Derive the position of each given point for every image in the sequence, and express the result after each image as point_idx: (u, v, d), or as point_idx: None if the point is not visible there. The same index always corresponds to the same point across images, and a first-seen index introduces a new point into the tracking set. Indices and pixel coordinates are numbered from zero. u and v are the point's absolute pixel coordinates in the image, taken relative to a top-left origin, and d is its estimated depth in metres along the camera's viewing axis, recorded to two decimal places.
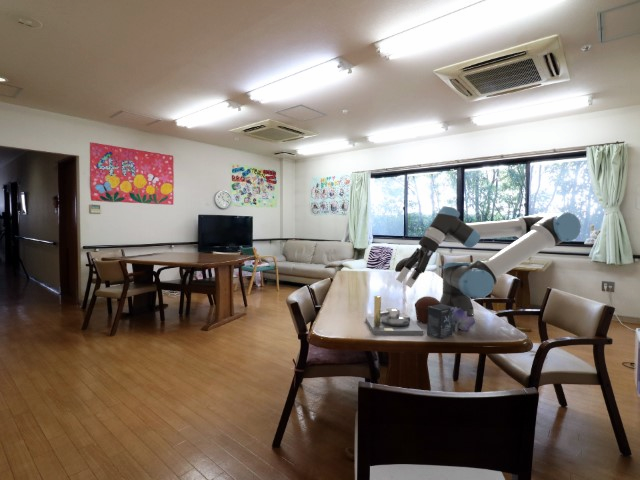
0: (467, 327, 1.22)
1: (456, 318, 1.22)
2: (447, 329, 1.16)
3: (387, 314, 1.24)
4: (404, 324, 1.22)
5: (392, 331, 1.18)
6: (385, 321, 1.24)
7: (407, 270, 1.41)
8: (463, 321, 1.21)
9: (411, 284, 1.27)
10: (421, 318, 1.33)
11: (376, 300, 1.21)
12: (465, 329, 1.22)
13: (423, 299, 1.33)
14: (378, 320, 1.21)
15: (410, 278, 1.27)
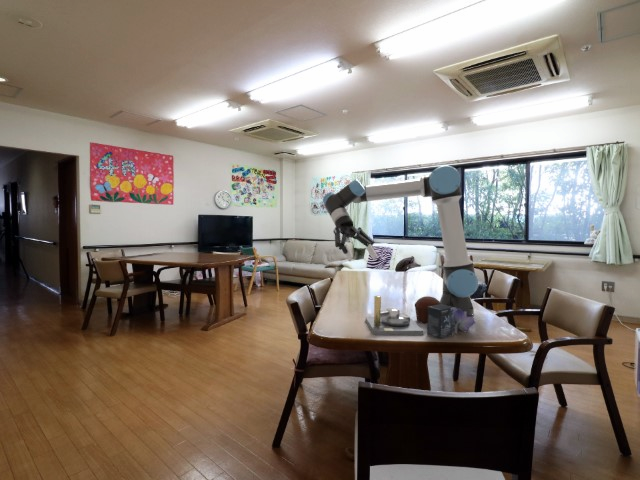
0: (466, 327, 1.21)
1: (456, 318, 1.21)
2: (447, 329, 1.16)
3: (387, 314, 1.24)
4: (404, 324, 1.22)
5: (392, 331, 1.18)
6: (385, 321, 1.24)
7: (369, 246, 1.39)
8: (463, 321, 1.21)
9: (350, 255, 1.29)
10: (421, 318, 1.33)
11: (376, 300, 1.21)
12: (465, 329, 1.22)
13: (423, 299, 1.33)
14: (378, 320, 1.21)
15: (346, 254, 1.31)
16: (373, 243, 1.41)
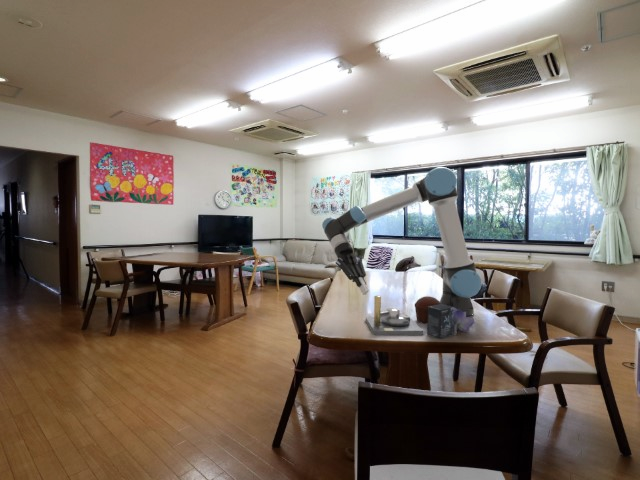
0: (466, 328, 1.21)
1: (455, 319, 1.21)
2: (447, 329, 1.16)
3: (387, 314, 1.24)
4: (404, 324, 1.22)
5: (392, 331, 1.18)
6: (385, 321, 1.24)
7: None
8: (462, 322, 1.20)
9: (364, 289, 1.28)
10: (421, 318, 1.33)
11: (376, 300, 1.21)
12: (464, 330, 1.21)
13: (423, 299, 1.33)
14: (378, 320, 1.21)
15: (360, 287, 1.30)
16: None
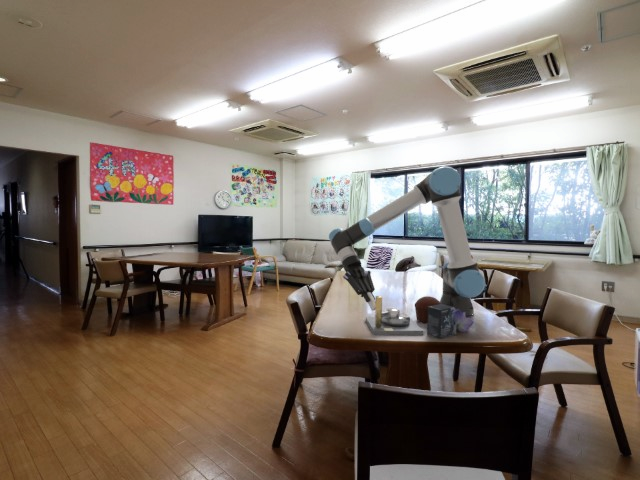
0: (465, 328, 1.20)
1: (454, 319, 1.20)
2: (447, 329, 1.16)
3: (388, 314, 1.24)
4: (405, 324, 1.23)
5: (392, 331, 1.18)
6: (386, 321, 1.24)
7: None
8: (462, 322, 1.19)
9: (373, 304, 1.24)
10: (421, 318, 1.33)
11: (377, 300, 1.20)
12: (464, 330, 1.20)
13: (423, 299, 1.33)
14: (379, 320, 1.21)
15: (369, 303, 1.26)
16: (373, 290, 1.29)
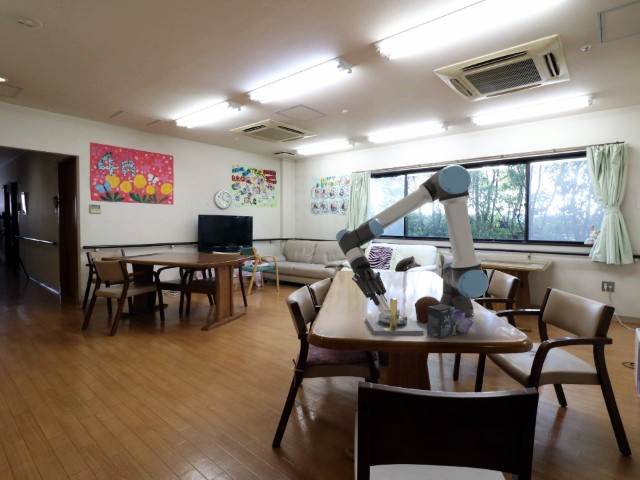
0: (465, 329, 1.20)
1: (454, 320, 1.20)
2: (447, 329, 1.16)
3: None
4: None
5: (392, 331, 1.18)
6: None
7: (380, 297, 1.23)
8: (461, 323, 1.19)
9: (382, 308, 1.19)
10: (421, 318, 1.33)
11: (395, 303, 1.17)
12: (463, 331, 1.20)
13: (423, 299, 1.33)
14: (396, 323, 1.18)
15: (378, 306, 1.21)
16: (385, 292, 1.25)
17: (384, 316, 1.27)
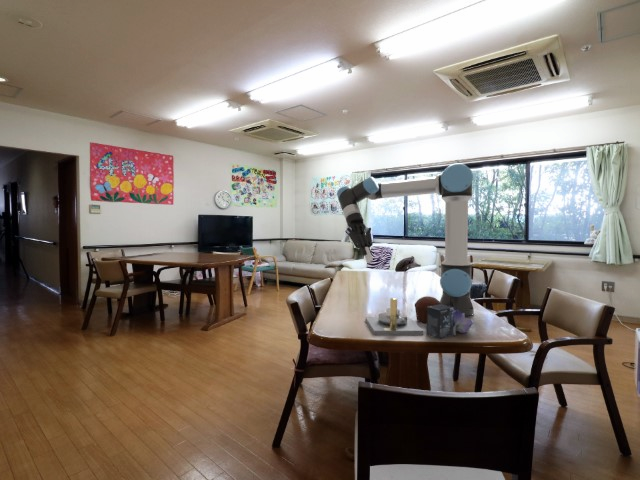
0: (465, 329, 1.19)
1: (454, 320, 1.19)
2: (446, 330, 1.16)
3: None
4: None
5: (392, 331, 1.18)
6: None
7: None
8: (461, 323, 1.18)
9: (368, 258, 1.40)
10: (421, 318, 1.33)
11: (395, 303, 1.17)
12: (463, 331, 1.19)
13: (423, 299, 1.33)
14: (396, 323, 1.18)
15: (365, 256, 1.42)
16: (371, 245, 1.44)
17: (384, 316, 1.27)
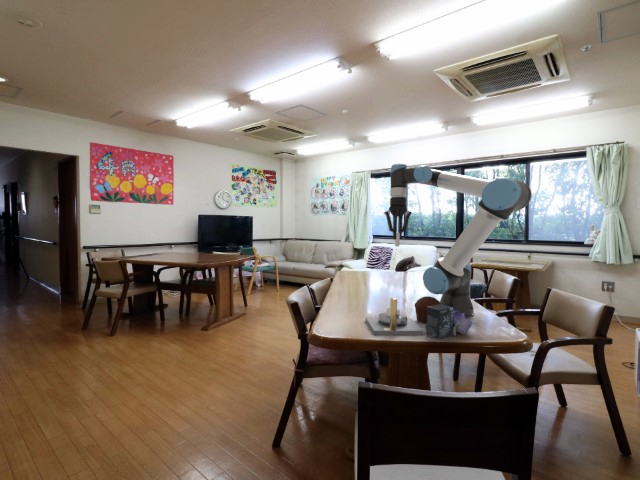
0: (464, 329, 1.19)
1: (454, 321, 1.18)
2: (446, 330, 1.16)
3: None
4: None
5: (392, 331, 1.18)
6: None
7: None
8: (461, 324, 1.18)
9: (396, 243, 1.57)
10: (421, 318, 1.33)
11: (395, 303, 1.17)
12: (463, 332, 1.19)
13: (423, 299, 1.33)
14: (396, 323, 1.18)
15: (395, 240, 1.58)
16: None
17: (384, 316, 1.27)
